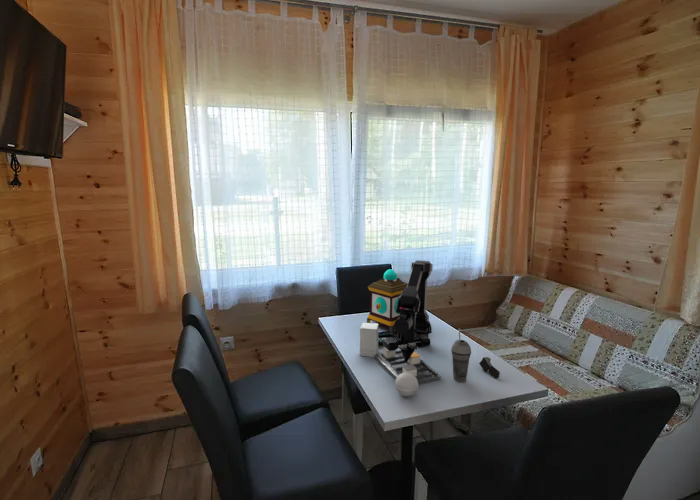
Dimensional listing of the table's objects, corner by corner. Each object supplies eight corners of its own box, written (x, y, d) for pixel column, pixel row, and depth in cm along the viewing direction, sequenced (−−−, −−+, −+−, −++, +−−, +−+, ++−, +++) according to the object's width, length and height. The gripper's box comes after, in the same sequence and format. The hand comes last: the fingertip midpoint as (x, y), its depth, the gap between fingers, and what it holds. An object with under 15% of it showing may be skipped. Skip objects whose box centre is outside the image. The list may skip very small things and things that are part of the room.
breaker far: (391, 353, 156) (391, 346, 155) (395, 357, 153) (395, 349, 152) (383, 355, 155) (383, 347, 154) (386, 359, 151) (386, 351, 151)
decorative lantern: (363, 323, 196) (363, 269, 191) (387, 315, 209) (388, 263, 204) (391, 334, 181) (392, 275, 176) (416, 324, 194) (417, 269, 189)
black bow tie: (496, 381, 142) (503, 373, 138) (491, 382, 141) (498, 375, 137) (483, 362, 148) (489, 354, 144) (478, 363, 147) (485, 355, 143)
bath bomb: (404, 386, 134) (405, 365, 133) (422, 395, 128) (423, 373, 127) (390, 394, 129) (390, 373, 127) (408, 404, 123) (408, 382, 121)
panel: (407, 352, 161) (407, 347, 161) (440, 379, 138) (440, 373, 138) (374, 358, 156) (374, 352, 155) (402, 387, 133) (402, 381, 132)
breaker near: (411, 372, 140) (411, 364, 140) (416, 376, 137) (416, 368, 136) (402, 374, 139) (402, 365, 138) (407, 378, 136) (407, 370, 135)
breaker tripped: (415, 359, 150) (415, 352, 150) (420, 363, 147) (420, 355, 147) (406, 361, 149) (407, 353, 148) (411, 365, 146) (411, 357, 145)
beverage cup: (466, 386, 133) (469, 334, 130) (447, 381, 137) (449, 330, 134) (471, 377, 140) (474, 328, 136) (452, 372, 143) (455, 324, 140)
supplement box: (376, 357, 157) (376, 329, 155) (359, 355, 158) (359, 328, 156) (378, 350, 164) (378, 323, 162) (362, 348, 165) (362, 322, 163)
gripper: (418, 316, 155) (415, 351, 157) (377, 320, 149) (376, 356, 151) (432, 325, 145) (429, 362, 147) (390, 330, 138) (388, 368, 141)
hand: (405, 362), depth 147 cm, fingers closed
